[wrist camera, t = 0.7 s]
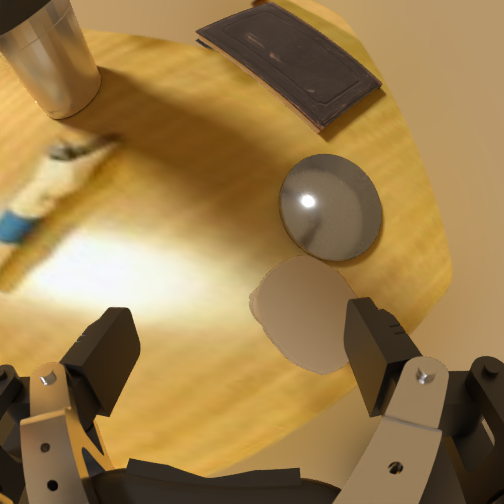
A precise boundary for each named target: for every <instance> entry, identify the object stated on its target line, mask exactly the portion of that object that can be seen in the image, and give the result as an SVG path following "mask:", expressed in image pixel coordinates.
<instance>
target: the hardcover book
mask: <svg viewBox="0 0 504 504" xmlns="http://www.w3.org/2000/svg"><path fill="white" fill-rule="evenodd" d="M196 33H198V34H199V39H197V40H196V42H198V43H199V44H201V45H202V46H204V47H205V48H207V49H211V50H217V51H218V52H219V53H221V54H222V55H224V56H225V57H226V58H228V59H229V60H231V61H232V62H233V63H235V64H236V65H237V66H239V67H240V68H241V69H243V70H244V71H245V72H247V73H248V74H249V75H250V76H252V77H253V78H254V79H255V80H257V81H258V82H259V83H260V84H262V85H263V86H264V87H265V88H267V89H268V90H269V91H270V92H271V93H273V94H274V95H275V96H276V97H277V98H279V99H280V100H281V101H282V102H283V103H284V104H285V105H287V106H288V107H289V108H290V109H291V110H292V111H293V112H294V113H296V114H297V115H298V116H299V117H300V118H301V119H302V120H303V121H304V122H305V123H306V124H308V125H309V126H310V127H311V128H312V129H313V130H314V131H315V132H316V133H317V134H318V133H319V132H320V131H321V130H323V129H324V128H325V127H327V126H328V125H329V124H330V123H332V122H333V121H334V120H336V119H337V118H338V117H339V116H341V115H342V114H343V113H345V112H346V111H347V110H349V109H350V108H351V107H353V106H354V105H355V104H357V103H358V102H359V101H361V100H362V99H363V98H365V97H366V96H367V95H369V94H370V93H371V92H373V91H374V90H376V89H377V88H378V89H379V88H380V87H381V85H382V82H381V81H379V80H378V79H377V78H376V77H375V76H374V75H373V74H372V73H371V72H370V71H368V70H367V69H366V68H365V67H364V66H363V65H362V64H360V63H359V62H358V61H357V60H356V59H354V58H353V57H352V56H351V55H350V54H348V53H347V52H346V51H345V50H343V49H342V48H341V47H339V46H338V45H337V44H336V43H334V42H333V41H332V40H330V39H329V38H328V37H326V36H325V35H323V34H322V33H321V32H319V31H318V30H316V29H315V28H313V27H312V26H310V25H309V24H307V23H306V22H304V21H303V20H301V19H300V18H298V17H297V16H295V15H294V14H292V13H290V12H289V11H287V10H285V9H284V8H282V7H280V6H278V5H277V4H275V3H273V2H269V3H266V4H262V5H259V6H256V7H253V8H250V9H248V10H245V11H242V12H239V13H237V14H234V15H231V16H229V17H226V18H224V19H222V20H219V21H217V22H214V23H212V24H210V25H207V26H205V27H203V28H201V29H199V30H197V31H196Z"/></svg>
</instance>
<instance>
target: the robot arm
mask: <svg viewBox="0 0 504 504" xmlns="http://www.w3.org/2000/svg"><path fill="white" fill-rule="evenodd" d="M0 56H1V57H2V58H3V60H4V61H5V62H6V64H7V65H8V66H9V68H10V69H11V70H12V72H13V73H14V74H15V76H16V77H17V78H18V79H19V81H20V82H21V83H22V85H23V86H24V87H25V88H26V90H27V91H28V92H29V93H30V95H31V96H32V97H33V98H34V100H35V101H36V102H37V103H38V105H39V106H40V107H41V108H42V109H43V111H44V112H45V113H46V114H47V115H48V116H49V117H50V118H53V119H63V118H67V117H69V116H72V115H74V114H75V113H77V112H79V111H80V110H82V109H83V108H84V107H85V106H87V105H88V104H89V103H90V102H91V100H92V99H93V98H94V97H95V95H96V94H97V92H98V90H99V88H100V85H101V76H100V73H99V71H98V69H97V67H96V64H95V62H94V60H93V57H92V55H91V52H90V50H89V48H88V45H87V43H86V41H85V38H84V36H83V33H82V31H81V29H80V26H79V24H78V21H77V19H76V16H75V13H74V11H73V8H72V6H71V3H70V1H69V0H0ZM343 340H344V349H345V352H346V355H347V357H348V360H349V362H350V365H351V368H352V370H353V373H354V375H355V378H356V381H357V383H358V386H359V389H360V391H361V394H362V397H363V399H364V402H365V405H366V408H367V410H368V413H369V416H370V417H374V416H379V415H382V419H381V421H380V423H379V425H378V427H377V429H376V431H375V433H374V435H373V437H372V439H371V441H370V443H369V445H368V447H367V449H366V451H365V452H364V454H363V456H362V458H361V459H360V461H359V463H358V465H357V466H356V468H355V470H354V471H353V473H352V475H351V476H350V478H349V479H348V481H347V483H346V484H345V486H344V487H343V489H340V488H338V487H335V486H333V485H331V484H328V483H325V482H321V481H318V480H313V479H307V478H300V469H299V468H290V469H276V470H254V471H249V472H245V473H239V474H234V475H229V476H223V477H216V478H205V477H201V476H198V475H195V474H192V473H189V472H186V471H183V470H180V469H177V468H174V467H171V466H169V465H165V464H158V463H152V462H146V461H141V460H136V459H131V458H130V459H129V462H128V465H127V468H121V469H115V468H114V467H113V465H112V463H111V461H110V459H109V456H108V453H107V451H106V448H105V445H104V442H103V440H102V437H101V434H100V431H99V428H98V425H97V423H96V421H95V420H94V419H95V417H96V415H102V416H106V417H110V414H111V412H112V410H113V408H114V406H115V404H116V402H117V400H118V398H119V396H120V394H121V392H122V390H123V387H124V385H125V383H126V381H127V379H128V377H129V375H130V373H131V371H132V369H133V367H134V365H135V364H136V362H137V360H138V358H139V355H140V341H139V337H138V334H137V331H136V328H135V324H134V321H133V318H132V314H131V312H130V310H129V309H128V308H124V307H109V308H108V309H107V310H106V311H105V313H104V314H103V315H102V316H101V317H100V319H98V320H97V321H95V322H94V323H92V324H91V325H89V326H88V327H87V329H86V330H85V331H84V332H83V333H82V336H80V337H79V338H78V339H77V342H75V343H74V344H73V346H72V347H71V348H70V349H69V351H68V352H67V353H66V354H65V356H64V357H63V358H62V359H61V361H60V362H59V363H57V362H50V363H46V364H43V365H41V366H40V367H38V368H37V369H36V370H35V371H34V372H33V373H32V375H31V377H19V376H18V374H17V372H16V370H15V369H14V367H13V366H11V365H1V366H0V420H1V418H2V416H3V415H4V413H5V412H7V414H8V415H9V416H10V418H11V419H12V420H13V422H14V423H15V425H14V427H13V428H12V430H11V432H10V434H9V435H8V437H7V439H6V441H5V443H4V445H3V446H2V447H1V446H0V504H18V503H19V500H20V497H21V495H22V492H23V490H24V487H25V485H26V488H27V494H28V499H29V503H30V504H418V503H419V501H420V498H421V496H422V493H423V491H424V488H425V486H426V483H427V480H428V478H429V475H430V472H431V469H432V467H433V463H434V460H435V457H436V454H437V451H438V447H439V444H440V440H441V437H442V439H443V441H444V444H445V446H446V448H447V451H448V453H449V456H450V458H451V461H452V464H453V466H454V469H455V472H456V475H457V478H458V480H459V483H460V486H461V489H462V492H463V495H464V498H465V502H466V504H504V363H502V362H501V361H500V360H498V359H496V358H494V357H490V356H482V357H479V358H477V359H476V360H475V361H474V362H473V364H472V366H471V368H470V370H469V371H448V370H447V368H446V367H445V365H444V364H443V363H441V362H440V361H438V360H436V359H434V358H431V357H424V356H422V354H421V353H420V351H419V350H418V349H417V347H416V346H415V344H414V343H413V341H412V340H411V339H410V337H409V336H408V334H407V333H405V330H404V329H403V327H402V326H400V323H399V322H398V321H397V319H396V318H395V317H394V315H392V314H390V313H389V312H387V311H386V310H384V309H380V310H378V308H377V307H376V306H375V304H374V303H373V301H372V300H371V299H370V298H369V297H365V298H356V299H349V300H348V303H347V310H346V319H345V328H344V337H343ZM484 418H485V420H486V422H487V424H488V426H489V428H490V430H491V431H492V433H493V435H494V439H495V444H494V446H493V444H492V442H491V440H490V438H489V436H488V434H487V432H486V430H485V428H484V426H483V425H482V423H481V422H482V421H483V420H484Z"/></svg>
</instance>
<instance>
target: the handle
mask: <svg viewBox="0 0 504 504" xmlns="http://www.w3.org/2000/svg"><path fill="white" fill-rule="evenodd" d="M356 298H357V296H356V294H355V293H354V291H353V290H352V289H351V287H350V286H349V284H348V283H347V282H346V280H345V279H344V278H343V277H342V276H341V274H340V273H339V272H338V271H336V270H335V269H333V268H332V267H331V266H329V265H327V264H325V263H323V262H321V261H320V260H318V259H316V258H314V257H312V256H310V255H301V256H296V257H293V258H290V259H288V260H286V261H284V262H282V263H280V264H279V265H277V266H276V267H274V268H273V269H272V270H271V271H270V272H269V273H268V274H267V275H266V276H265V277H264V278H263V280H262V281H261V282H260V285H259V287H257V288H256V289H255V290H254V291H253V293H252V294H250V297H249V299H250V301H249V306H250V310H251V313H252V315H253V316H254V318H255V319H256V320H257V321H258V322H259V323H260V324H261V325H262V326H263V330H264V332H265V333H266V335H267V336H268V338H269V339H270V340H271V341H272V342H273V344H274V345H275V346H276V347H277V348H278V350H279V351H280V352H281V353H282V354H283V355H284V356H285V357H286V358H287V359H288V360H290V361H291V362H292V363H294V364H296V365H297V366H299V367H301V368H304V369H306V370H309V371H311V372H314V373H317V374H320V375H325V374H329V373H332V372H335V371H337V370H338V369H340V368H342V367H343V366H344V365H346V364H347V363H348V362H349V360H348V357H347V355H346V352H345V349H344V340H343V337H344V328H345V319H346V310H347V303H348V300H349V299H356Z"/></svg>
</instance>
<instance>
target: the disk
mask: <svg viewBox="0 0 504 504" xmlns="http://www.w3.org/2000/svg"><path fill="white" fill-rule="evenodd" d="M279 210H280V216H281V220H282V222H283V225H284V227H285V229H286V231H287V233H288V234H289V236H290V237H291V239H292V240H293V241H294V242H295V244H296V245H297V246H299V247H300V248H301V249H302V250H303V251H305V252H306V253H308V254H309V255H311V256H313V257H315V258H318V259H321V260H326V261H342V260H347V259H351V258H354V257H356V256H358V255H360V254H362V253H363V252H365V251H366V250H367V249H368V248H369V247H370V246H371V245H372V243H373V242H374V240H375V239H376V237H377V235H378V232H379V229H380V225H381V217H382V212H381V203H380V199H379V196H378V193H377V191H376V188H375V186H374V185H373V183H372V181H371V180H370V178H369V177H368V176H367V175H366V173H365V172H364V171H363V170H362V169H361V168H359V167H358V166H357V165H356V164H354V163H353V162H351V161H349V160H347V159H345V158H343V157H340V156H336V155H331V154H318V155H313V156H310V157H307V158H305V159H303V160H302V161H300V162H299V163H298V164H296V165H295V166H294V167H293V168H292V169H291V171H290V172H289V174H288V175H287V177H286V178H285V180H284V182H283V184H282V187H281V190H280V196H279Z"/></svg>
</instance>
